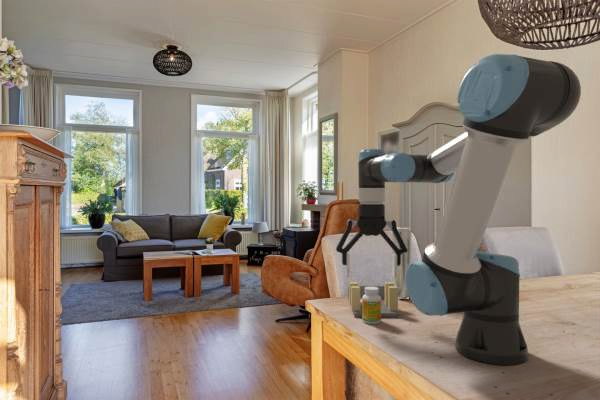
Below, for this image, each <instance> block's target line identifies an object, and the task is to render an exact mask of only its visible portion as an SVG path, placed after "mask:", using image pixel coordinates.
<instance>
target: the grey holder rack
mask: <svg viewBox="0 0 600 400" xmlns="http://www.w3.org/2000/svg"><path fill="white" fill-rule="evenodd" d="M365 287H377V288H379V293H378V295H379V296H380V297H381V318H399V313H398V311H399V299H398V288H397V287H396V286H394V283H393V281H384V285H374V284H373V285H367V284H365V285H364V284H362V285H361V284H360V285H359V284H358V282H357V281H349V282H348V285H347V288H348V289H347V294H348V295H347V301H348V300H349V301H348V304H349V306H350V310H351V311H352V314H353V317H354V318H362V297H363V295H365V294H366V293H365Z"/></svg>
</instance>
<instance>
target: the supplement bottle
mask: <svg viewBox="0 0 600 400" xmlns="http://www.w3.org/2000/svg"><path fill="white" fill-rule="evenodd" d="M365 293H366V294H365V295H363V297H362V317H361V320H362V323H364V324H369V325H377V324H380V323H381V322H382V317H381V297H380V296H379V295H378V293H379V288H377V287H365Z"/></svg>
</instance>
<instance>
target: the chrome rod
mask: <svg viewBox="0 0 600 400" xmlns="http://www.w3.org/2000/svg"><path fill="white" fill-rule="evenodd" d="M397 230H398V232H399V234H400V236H401V238H402V240H403V242H404V244H405V246H406V248H407V252H404V253H402V254H401V264H400V265H397V278H394V277H393V276H392V282H393V283H394V286H396V287H397V288H398V298H400V299H406V298H407V297H409V294H408V291H407V288H406V271H407V268H408V266H409V265H410V264H411V263H412V230H411V227H397ZM392 242H393V243H394V244H395V245H396V246H397V248H398V249H400V246H399V244H398V242H397V240H396V238H395V236H394V234H393V233H392ZM393 254H395V251H394V250H393V249H392V255H393ZM409 298H410V297H409ZM400 299H399V300H400Z"/></svg>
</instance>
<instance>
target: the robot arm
mask: <svg viewBox="0 0 600 400" xmlns="http://www.w3.org/2000/svg"><path fill="white" fill-rule="evenodd" d="M581 87H582V86H581V82H580V79H579V77H578V75H576V73H575V72H574V70H573V69H571V68H570V67H569V66H567V65H565V64H564V63H561V62H557V61H552V60H542V59H538V58H531V57H528V56H527V57H526V56H521V55H517V54H504V53H503V54H501V53H493V54H490V55H487V56H484V57H483V58H480V59H479V60H478V62H477V63H474V64H473V65H472V66H471V67H470V68H469V69H468V70H467V71H466V73H465V74H464V76H463V78H462V80H461V82H460V85H459V88H458V91H457V97H456V99H457V103H458V104H459V105H458V111H459V112H460V113H461V115H462V117H464V119H463V121H462V127H463V129H464V130H465V131H464V132H463V133H461V134H459V135H457V136H455V138H453V139H451V140H450V141H448V142H446V143H445V144H443V145H442V146H440V147H439V148H437V149H435V150H433V151H432V152H430V153H428V154H408V153H406V152H392V153H388V154H386V151H385V150H384V149H381V148H380V149H379V148H367V149H361V150H360V151H359V155H358V164H357V165H358V166H357V167H358V202H359V204H358V209H357V210H358V214H357V215H358V216H357V217H358V218H357V220H352V219H347V222H346V227H345V230H344V232H343V234H342V235H341V237H340V239H339V241H338V244H337V246H336V248H335V251H336V252H338V253H340V254H341V263H342V265H343V266H345V278H350V253H349V252H350V250H351V249H352V248H353V246H355V244H356V243H358V241H359V239H360V238H362V237H363V236H368V237H369V236H374V237H377V236H379V235H380V236H381V237H382V239H383V240H384V241H385V242H386V243H387V244H388V246H390V248H391V249H392V251H393V250H394V251H395V254H393V253H392V264H391V265H392V267H391V268H392V273H391V274H392V278H393V277H394V278H397V265H400V264H401V254H402V253H404V252H407V248H406V246H405V244H404V242H403V240H402V238H401V236H400V234H399V232H398V230H397V228H398V226H397V221H396V220H395V219H390V220H386V217H385V215H386V214H385V213H386V212H385V211H386V206H385V204H384V202H385V201H386V190H385V189H386V183H395V184H396V183H422V184H423V183H425V184H426V183H431V184H441V183H447V182H449V181H450V180H451V179H452V178H453V176H454V179H453V183H452V185H451V189H450V193H449V196H448V199H447V201H446V205H445V209H444V212H443V215H442V218H441V222H440V225H439V227H438V228H439V229H438V231H437V234H436V238H435V240H434V241H435V242H432V243H430V244H428V245H426V246H425V249H424V252H423V254H422V255H423V256H422V257H421V260H415V261H413V262H411V264H410V265H409V266H408V268H407V271H406V288H407V291H408V294H409V297H410V299H409V300H410V301H411V302H412V304H413V306H414V307H415V308H416V309H417V311H419V313H421V314H423V315H426V316H433V317H434V316H445V315H446V316H447V315H452V314H457V313H463V317H462V320H461V323H460V326H459V328H458V331H457V333H456V337H455V349H456V351H457V352H458V354H460V355H463V357H466V358H469V359H471V360H473V361H477V362H481V363H484V364H485V363H486V364H492V365H500V366H502V365H503V366H511V365H521V364H522V363H525V362H527V360H529V358H528V357H529V355H528V351H529V349H528V345H527V342H526V339H525V336H524V333H523V330H522V327H521V324H520V277H521V274H520V265H519V261H518V260H517V258H516V257H513V256H511V255H505V254H499V253H492V252H486V251H485V252H484V251H479V250H480V247H481V244H482V243H483V242H482V241H483V239H484V235H485V233H486V230H487V227H488V225H489V222H490V219H491V217H492V215H493V214H492V213H493V211H494V209H495V206H496V203H497V200H498V196H499V194H500V192H501V188H502V186H503V183H504V180H505V178H506V175H507V172H508V169H509V166H510V163H511V160H512V158H513V155H514V152H515V150H516V147H517V146H519V145H520V144H523V143H525V142H527V141H528V140H529V138H533V137H537V136H539V135H541V134H544V133H545V132H547V131H549V130H552V129H553V128H555V127H557V126H559V125H560V124H562V123H563V122H564V121H566V120H567V119H568V118H570V116H571V115H572V114H573V113H574V112H575V110H576V109H577V107H578V105H579V103H580V99H581V95H582V93H581V91H582V89H581ZM455 172H456V174H455ZM454 174H455V175H454ZM355 226H357V227H358V229H359V230H357V232H356V233H355V234H354V236H353V237H352V238H351V239H350V240H349V241H348V242H347V244H346V245H345V243H346V240H347V239H348V237H349V235H350V234H351V232H352V229H353V228H355ZM386 226H388V228H389V229H391V231H392V235H393V234H394V236H395V238H396V240H397V242H398V244H399V246H400V249H398V248H397V246H396V245H395V244H394V243H393V239H391V238H390V236H388V234H387V233H386V232H385V230H384V229H385V228H386ZM344 245H345V246H344ZM343 246H344V248H343Z"/></svg>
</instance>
